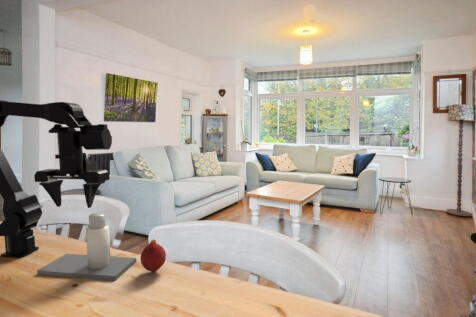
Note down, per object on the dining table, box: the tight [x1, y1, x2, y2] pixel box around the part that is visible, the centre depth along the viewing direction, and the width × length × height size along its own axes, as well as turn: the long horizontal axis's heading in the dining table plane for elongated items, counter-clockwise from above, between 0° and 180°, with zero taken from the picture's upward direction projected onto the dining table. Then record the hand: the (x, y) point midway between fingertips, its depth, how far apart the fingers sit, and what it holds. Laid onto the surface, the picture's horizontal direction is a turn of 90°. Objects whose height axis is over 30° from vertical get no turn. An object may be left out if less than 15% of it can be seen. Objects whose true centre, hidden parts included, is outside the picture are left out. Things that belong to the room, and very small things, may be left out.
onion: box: [139, 238, 167, 273], centre depth 76 cm, size 6×6×8 cm
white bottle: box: [85, 212, 111, 269], centre depth 78 cm, size 5×5×12 cm
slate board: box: [36, 253, 137, 281], centre depth 79 cm, size 20×10×1 cm, turn 81°
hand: (74, 207), depth 87 cm, fingers open, 9 cm apart
